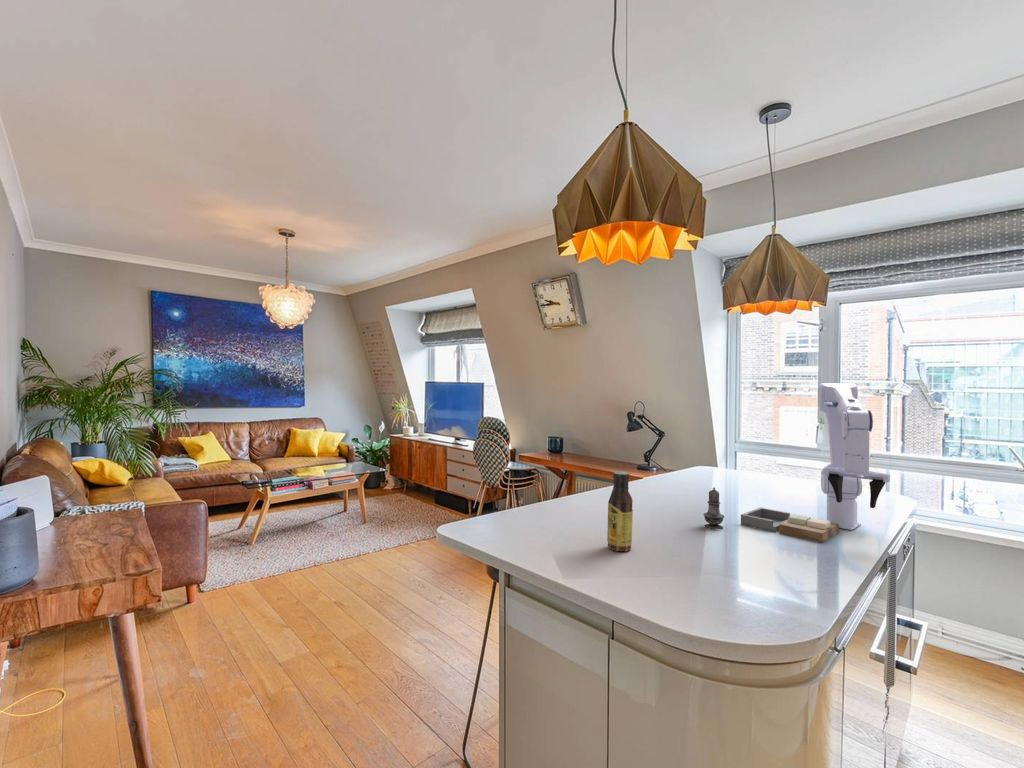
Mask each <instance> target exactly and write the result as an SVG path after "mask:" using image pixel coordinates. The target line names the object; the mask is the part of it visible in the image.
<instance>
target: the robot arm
mask: <svg viewBox="0 0 1024 768" xmlns="http://www.w3.org/2000/svg"><path fill="white" fill-rule="evenodd" d="M858 390H859V389H858V386H857V385H856V384H855V382H851V383H825V382H821V383H820V384H819V385H818V389H817V391H818V392H817V395H818V396H817V398H818V407H819V411H821V412H823V413H824V414H825V416H826V418H827V425H828V426H827V427H828V429H827V431H828V441H829V443H828V444H829V454H830V463H829V464H828V465H826V466H824V467H823V468H822V470H821V471H820V472H821V473H820V475H821V476H820V488H821V489H820V490H821V491H822V493H823V494H825V495H826V520H827V521H830V522H831V523H836V524H839V529H844V530H849V531H853V530H855V529H857V528H858V527H859V526H861V525H862V523H861V522H858V502H857V500H856V499H858V497H860V496H861V495H862V492H863V481H862V480H863V479H864V480H871V481H869V489H870V491H869V492H870V493H869V494H870V500H869V507H870V509H875V508H876V505H877V502H878V497H879V496H880V494H881V492H882V490H883V488H884V487H885V485H886V483H889V482H891V474H890V473H884V472H877V471H872V470H871V471H870V433H871V432H872V430H873V427H874V418H873V413H872V411H871V409H867V410H865V409H864V407H863V406H862V403H861V402H860V401H859V400H858V398H859V397H858V396H859V392H858Z"/></svg>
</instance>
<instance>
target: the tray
mask: <svg viewBox="0 0 1024 768" xmlns="http://www.w3.org/2000/svg"><path fill="white" fill-rule="evenodd" d="M789 516H791V513H790V512H785V511H781V510H775V509H771V508H770V509H769V508H765V507H757V508H755V509H752V510H750V511H747V512H745V513H742V514H740V525H741V526H745V525H746V527H751V528H754V527H755V529H759V530H763V529H764V530H763V531H768V530H769V532H772V531H774V532H773V533H777V532H779V524H781V523H783V522H785V521H788V517H789ZM776 531H777V532H776Z"/></svg>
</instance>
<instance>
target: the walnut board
mask: <svg viewBox="0 0 1024 768" xmlns="http://www.w3.org/2000/svg"><path fill="white" fill-rule="evenodd" d="M839 532H840V528H839V524H836V523H831V522H830V527H829V528H827V529H821V528H816V527H811V526H807V525H801V524H796V523H791V522H788V521H785V522H783V523H781V524H779V531H778V534H781V533H782V534H781V535H787V536H792V537H795V538H799V539H800V538H801V539H806V540H809V541H813V542H817V541H818V543H824V542H826V541H827V540H829V539H831V538H832V537H834V536H836V535H838V534H839ZM835 534H836V535H835ZM830 537H831V538H830Z"/></svg>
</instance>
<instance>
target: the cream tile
mask: <svg viewBox="0 0 1024 768" xmlns="http://www.w3.org/2000/svg"><path fill="white" fill-rule="evenodd" d="M807 526H811V527H816V528H821V529H827V528H829V527H830V521H827V519H826V520H825V519H821V518H820V519H819V518H816V517H812V518H811V519H809V520H807Z"/></svg>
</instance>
